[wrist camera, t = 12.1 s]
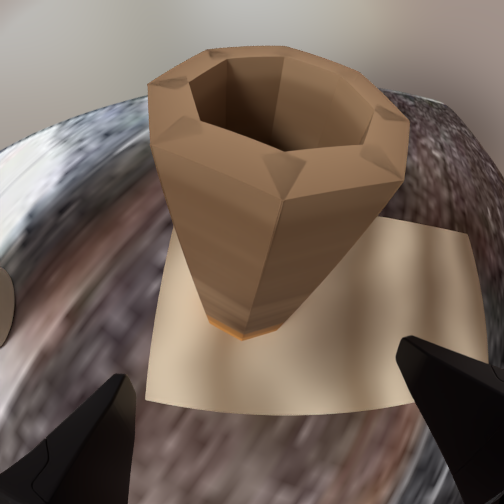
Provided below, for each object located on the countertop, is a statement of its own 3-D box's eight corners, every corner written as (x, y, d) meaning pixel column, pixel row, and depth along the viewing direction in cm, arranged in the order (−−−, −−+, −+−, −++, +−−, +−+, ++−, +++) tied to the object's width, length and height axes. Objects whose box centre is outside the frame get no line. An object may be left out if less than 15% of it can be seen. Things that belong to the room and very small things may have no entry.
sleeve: (301, 280, 17) (410, 97, 5) (264, 353, 15) (390, 256, 3) (230, 244, 17) (236, 35, 6) (188, 311, 15) (92, 125, 4)
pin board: (458, 241, 21) (488, 216, 17) (476, 382, 15) (516, 375, 11) (184, 205, 20) (175, 161, 16) (152, 398, 14) (123, 404, 10)
